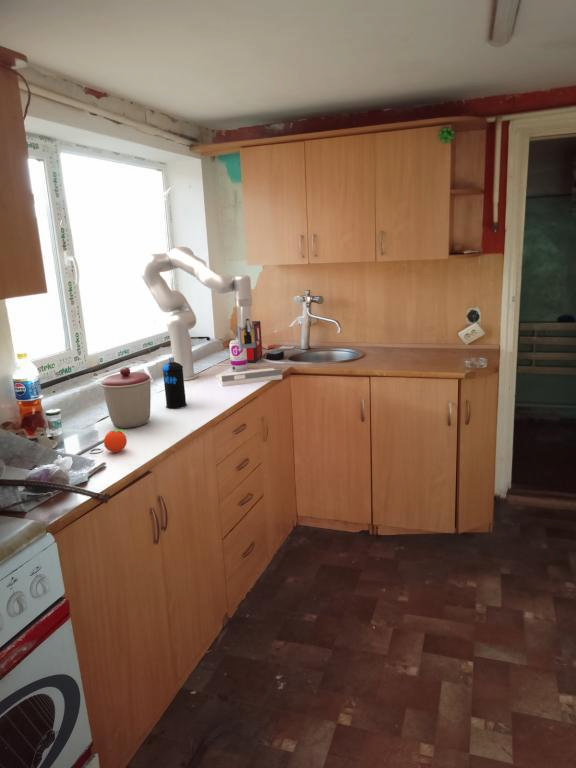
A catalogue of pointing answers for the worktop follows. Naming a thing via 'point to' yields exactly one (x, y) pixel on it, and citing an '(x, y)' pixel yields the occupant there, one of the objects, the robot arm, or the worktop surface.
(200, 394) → the worktop surface
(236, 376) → the shelf board
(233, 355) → the supplement can
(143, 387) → the canister
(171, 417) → the worktop surface
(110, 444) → the clementine
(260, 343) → the cleaning product box
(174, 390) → the aerosol can
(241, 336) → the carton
